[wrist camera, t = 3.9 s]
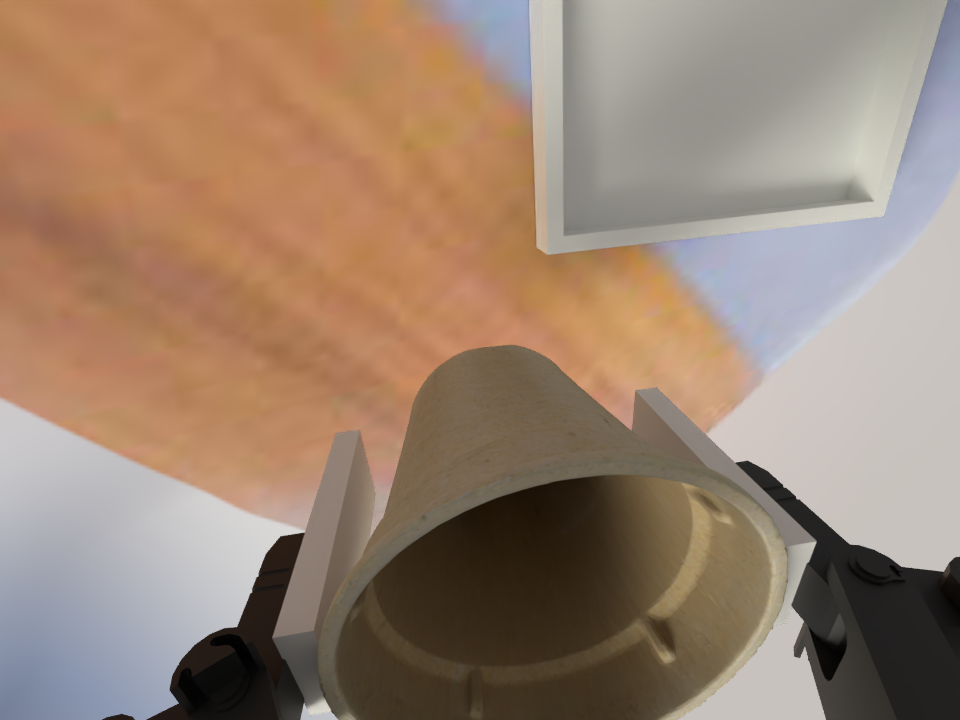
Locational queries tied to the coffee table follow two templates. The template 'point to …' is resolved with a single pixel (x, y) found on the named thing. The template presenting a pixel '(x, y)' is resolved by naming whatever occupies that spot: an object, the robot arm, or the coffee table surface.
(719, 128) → the tray
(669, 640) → the flower pot
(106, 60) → the coffee table surface
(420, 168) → the coffee table surface
